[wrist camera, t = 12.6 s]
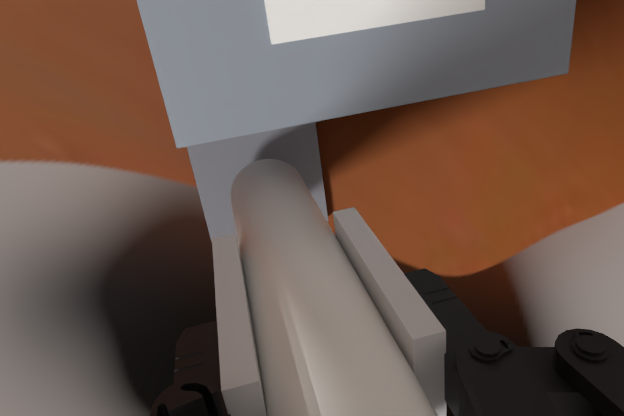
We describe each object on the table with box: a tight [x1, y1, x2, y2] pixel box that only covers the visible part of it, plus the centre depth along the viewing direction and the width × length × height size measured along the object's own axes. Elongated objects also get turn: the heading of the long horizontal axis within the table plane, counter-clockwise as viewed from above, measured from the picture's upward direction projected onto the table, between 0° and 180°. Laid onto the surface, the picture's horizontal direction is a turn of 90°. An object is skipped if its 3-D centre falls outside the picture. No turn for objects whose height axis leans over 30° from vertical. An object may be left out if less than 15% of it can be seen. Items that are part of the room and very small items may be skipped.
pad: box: [187, 122, 328, 242], centre depth 23 cm, size 6×6×1 cm
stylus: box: [230, 159, 438, 416], centre depth 13 cm, size 4×4×18 cm
